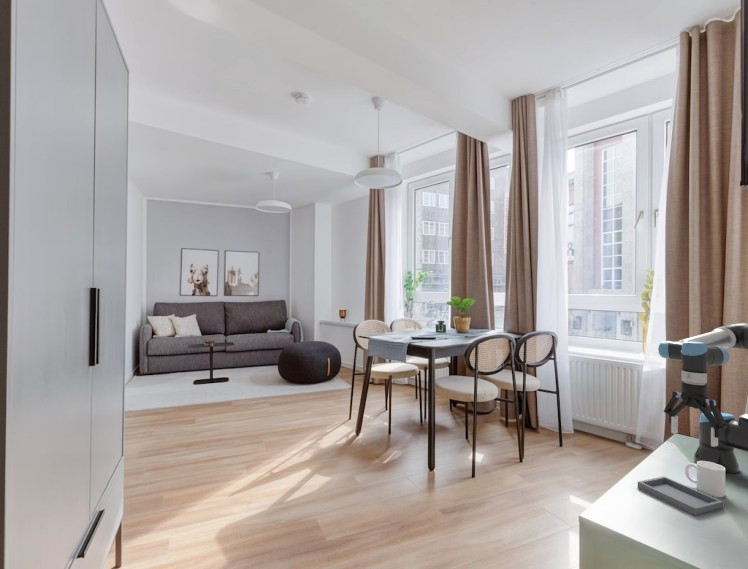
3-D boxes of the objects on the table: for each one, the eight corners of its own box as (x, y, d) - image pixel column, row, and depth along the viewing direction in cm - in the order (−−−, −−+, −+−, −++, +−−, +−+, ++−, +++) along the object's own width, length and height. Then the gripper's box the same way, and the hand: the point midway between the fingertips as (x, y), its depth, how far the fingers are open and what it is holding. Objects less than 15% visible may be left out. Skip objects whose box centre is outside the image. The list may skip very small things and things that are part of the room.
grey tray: (664, 482, 157) (664, 476, 158) (723, 509, 139) (723, 501, 139) (637, 488, 152) (637, 481, 152) (695, 516, 133) (695, 508, 133)
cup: (721, 500, 145) (721, 472, 145) (681, 486, 155) (681, 460, 155) (727, 494, 150) (728, 466, 150) (688, 481, 160) (689, 455, 160)
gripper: (653, 376, 161) (653, 429, 160) (726, 391, 137) (726, 453, 137) (666, 375, 163) (665, 427, 163) (740, 389, 140) (739, 450, 140)
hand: (693, 439), depth 150 cm, fingers open, 13 cm apart
